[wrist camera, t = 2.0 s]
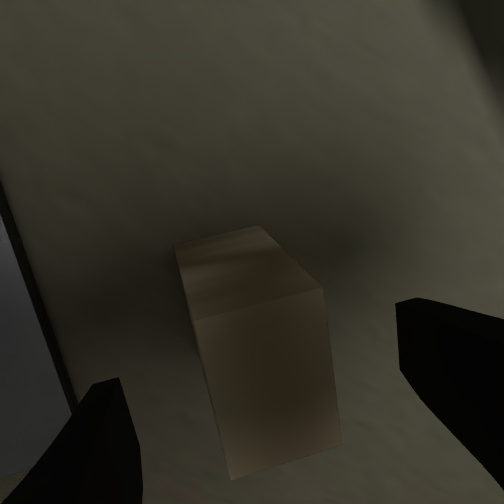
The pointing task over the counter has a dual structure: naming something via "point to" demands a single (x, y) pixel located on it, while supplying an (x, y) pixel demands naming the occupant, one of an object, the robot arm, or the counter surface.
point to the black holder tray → (26, 361)
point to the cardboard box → (261, 349)
